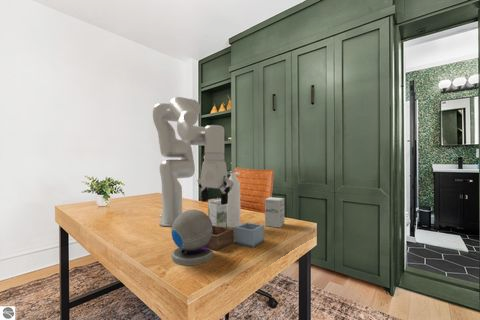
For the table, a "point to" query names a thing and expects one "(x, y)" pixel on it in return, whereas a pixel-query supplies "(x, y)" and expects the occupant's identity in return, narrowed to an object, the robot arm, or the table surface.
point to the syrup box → (217, 212)
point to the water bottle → (234, 203)
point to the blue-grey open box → (249, 234)
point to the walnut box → (220, 238)
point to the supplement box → (274, 212)
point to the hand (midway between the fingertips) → (214, 202)
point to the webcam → (192, 238)
